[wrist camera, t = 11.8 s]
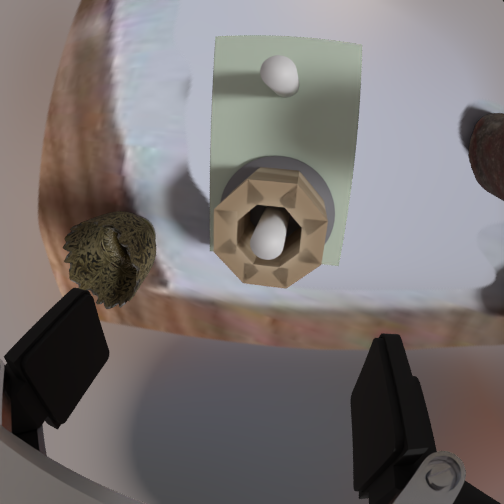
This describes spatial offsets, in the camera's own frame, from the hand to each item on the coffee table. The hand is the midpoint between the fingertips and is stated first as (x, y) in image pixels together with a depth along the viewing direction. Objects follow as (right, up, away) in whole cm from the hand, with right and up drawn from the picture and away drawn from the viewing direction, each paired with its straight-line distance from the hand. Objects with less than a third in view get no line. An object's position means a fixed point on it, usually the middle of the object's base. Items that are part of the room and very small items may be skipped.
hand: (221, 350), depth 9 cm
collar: (+3, +6, +14) cm, 16 cm away
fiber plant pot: (-10, +5, +19) cm, 22 cm away
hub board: (+3, +11, +14) cm, 18 cm away
